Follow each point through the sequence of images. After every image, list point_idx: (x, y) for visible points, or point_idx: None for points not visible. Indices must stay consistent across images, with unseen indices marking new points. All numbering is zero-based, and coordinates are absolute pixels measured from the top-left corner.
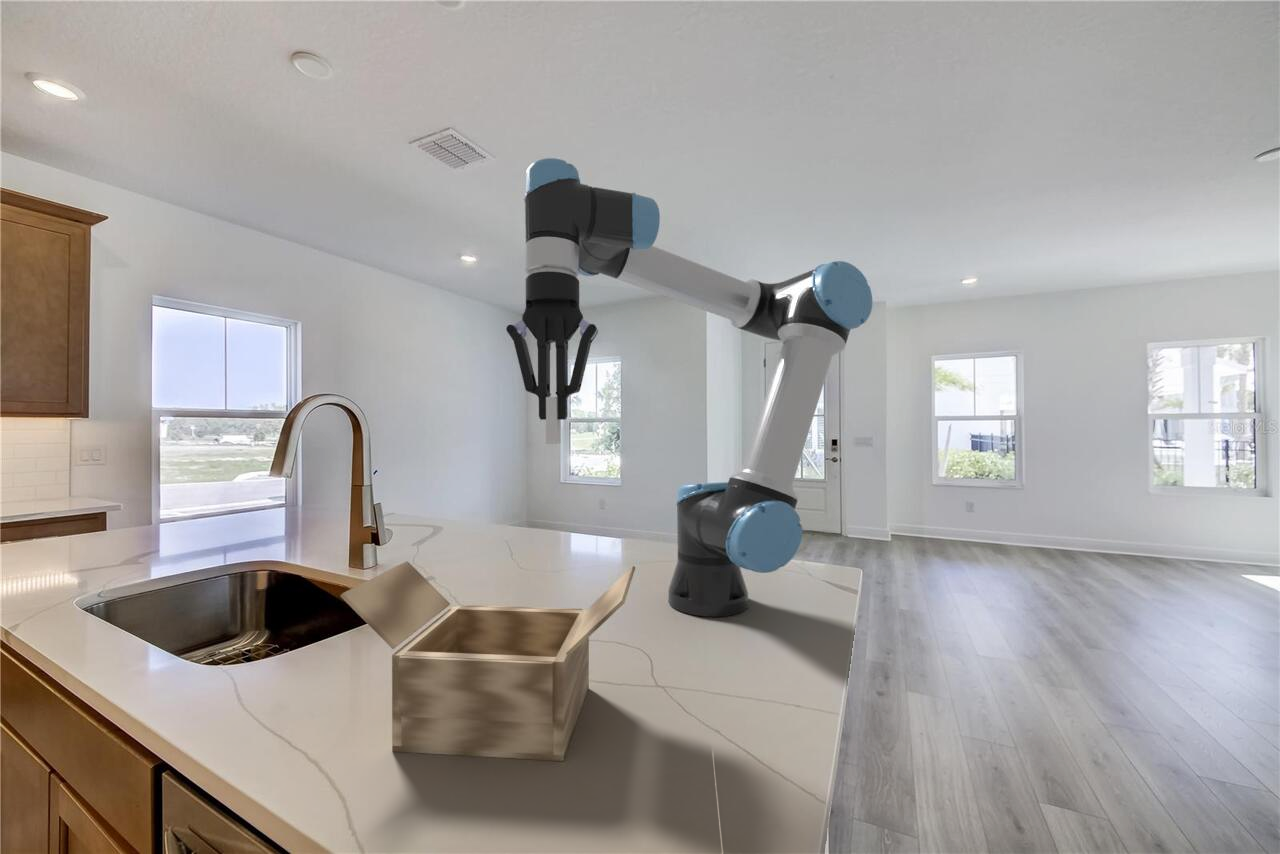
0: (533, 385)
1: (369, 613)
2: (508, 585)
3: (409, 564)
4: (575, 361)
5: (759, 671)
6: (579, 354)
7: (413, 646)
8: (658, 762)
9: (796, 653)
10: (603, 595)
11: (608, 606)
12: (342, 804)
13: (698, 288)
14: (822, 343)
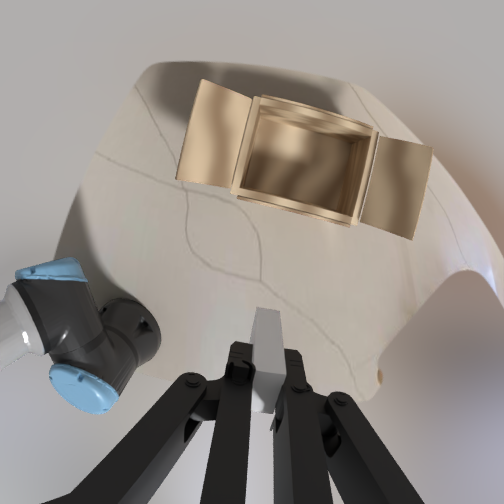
0: (329, 406)
1: (408, 146)
2: None
3: (408, 237)
4: (159, 447)
5: (115, 203)
6: (133, 465)
7: (369, 144)
8: None
9: (87, 227)
10: (213, 176)
11: (212, 105)
12: (365, 107)
13: None
14: None
